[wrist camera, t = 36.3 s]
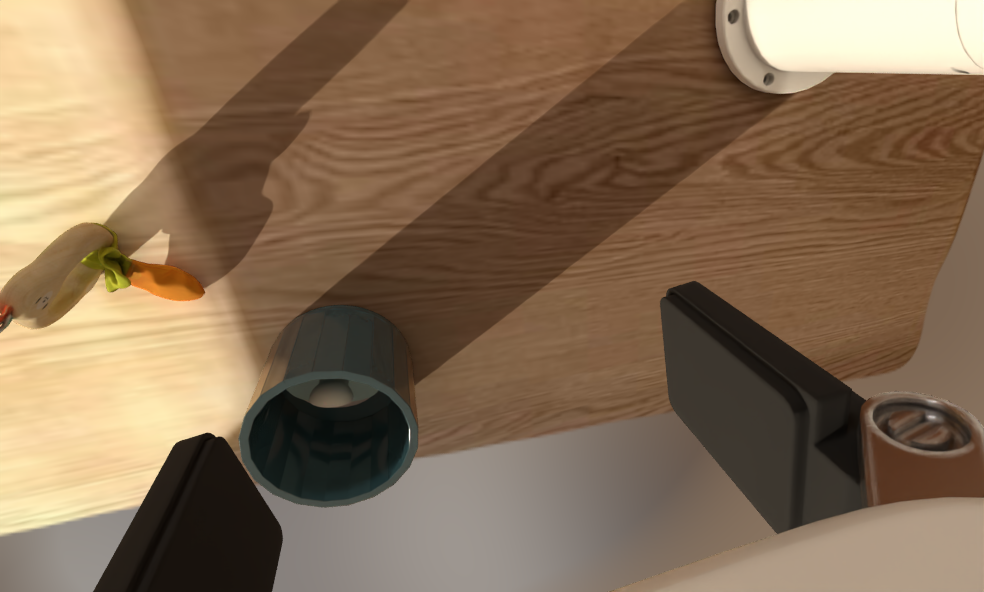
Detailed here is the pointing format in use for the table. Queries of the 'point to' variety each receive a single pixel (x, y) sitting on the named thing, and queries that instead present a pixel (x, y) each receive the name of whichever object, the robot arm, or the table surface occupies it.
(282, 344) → the cup
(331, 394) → the pacifier
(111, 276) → the rattle
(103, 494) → the table surface
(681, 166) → the table surface
